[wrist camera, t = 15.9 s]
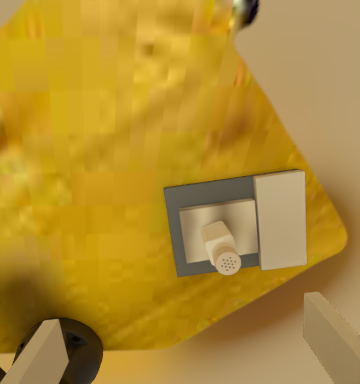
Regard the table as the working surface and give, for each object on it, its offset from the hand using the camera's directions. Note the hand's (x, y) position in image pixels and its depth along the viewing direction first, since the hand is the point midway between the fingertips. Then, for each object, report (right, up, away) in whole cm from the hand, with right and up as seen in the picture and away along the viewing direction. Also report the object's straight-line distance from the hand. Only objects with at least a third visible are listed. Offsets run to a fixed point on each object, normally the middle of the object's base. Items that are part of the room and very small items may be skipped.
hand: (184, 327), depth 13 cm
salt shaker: (+5, +1, +26) cm, 26 cm away
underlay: (+9, +2, +28) cm, 30 cm away
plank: (+6, +1, +27) cm, 28 cm away
